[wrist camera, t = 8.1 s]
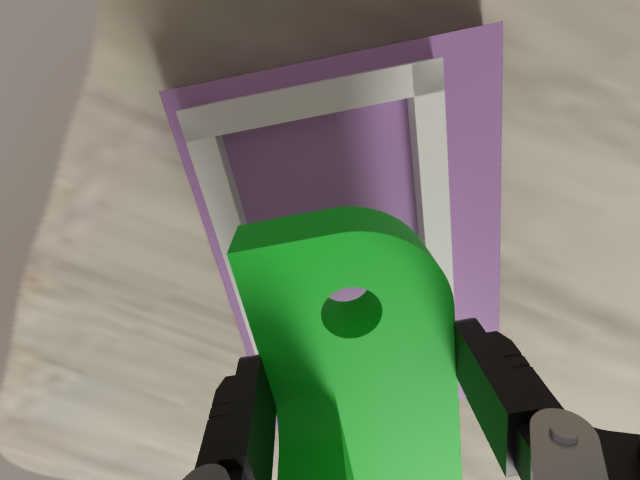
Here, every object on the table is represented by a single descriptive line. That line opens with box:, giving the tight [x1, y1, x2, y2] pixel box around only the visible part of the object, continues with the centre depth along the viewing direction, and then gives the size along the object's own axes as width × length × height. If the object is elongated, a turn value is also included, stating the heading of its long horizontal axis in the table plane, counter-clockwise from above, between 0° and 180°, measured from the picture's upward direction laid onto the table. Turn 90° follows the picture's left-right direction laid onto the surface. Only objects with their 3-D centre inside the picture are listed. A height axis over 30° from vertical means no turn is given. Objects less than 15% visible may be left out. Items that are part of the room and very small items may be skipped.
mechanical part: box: [227, 206, 462, 480], centre depth 11 cm, size 12×6×8 cm, turn 10°
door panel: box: [159, 21, 503, 429], centre depth 20 cm, size 14×20×3 cm
